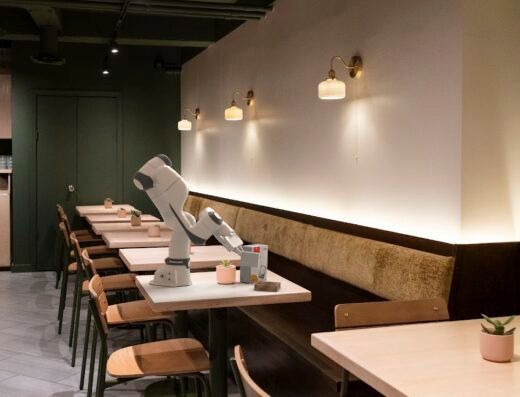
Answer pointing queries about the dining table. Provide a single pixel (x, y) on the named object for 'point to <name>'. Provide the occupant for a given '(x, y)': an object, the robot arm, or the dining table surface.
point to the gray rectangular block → (250, 259)
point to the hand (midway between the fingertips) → (242, 254)
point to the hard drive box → (252, 272)
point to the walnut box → (267, 286)
